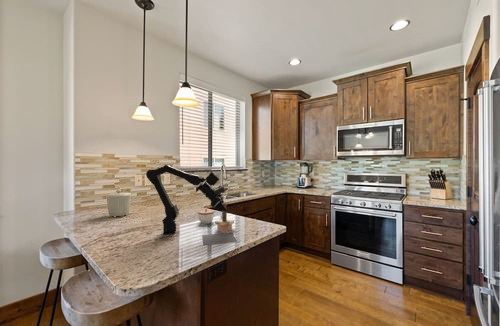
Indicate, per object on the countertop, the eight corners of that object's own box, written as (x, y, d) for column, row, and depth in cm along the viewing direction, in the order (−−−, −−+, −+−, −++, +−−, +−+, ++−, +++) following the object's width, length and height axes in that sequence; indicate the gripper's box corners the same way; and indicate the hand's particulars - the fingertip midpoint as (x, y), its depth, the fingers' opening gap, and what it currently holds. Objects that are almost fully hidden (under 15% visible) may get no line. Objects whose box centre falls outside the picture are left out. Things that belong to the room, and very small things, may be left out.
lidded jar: (210, 225, 144) (210, 210, 144) (195, 224, 146) (195, 210, 146) (216, 221, 155) (216, 207, 155) (202, 220, 157) (201, 207, 157)
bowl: (218, 232, 127) (218, 225, 127) (217, 228, 135) (216, 221, 136) (232, 231, 129) (232, 224, 129) (230, 227, 138) (230, 220, 138)
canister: (133, 216, 172) (133, 189, 172) (105, 219, 162) (105, 191, 162) (130, 212, 187) (130, 187, 187) (105, 215, 177) (105, 189, 177)
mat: (203, 246, 107) (203, 245, 107) (202, 235, 122) (202, 235, 122) (237, 242, 111) (237, 242, 111) (232, 233, 126) (232, 232, 126)
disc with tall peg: (221, 226, 124) (221, 205, 124) (211, 222, 133) (210, 202, 133) (237, 222, 132) (237, 202, 132) (227, 219, 141) (226, 200, 141)
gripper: (216, 183, 123) (236, 202, 124) (218, 180, 142) (236, 197, 142) (202, 197, 122) (222, 216, 123) (206, 193, 141) (223, 209, 142)
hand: (226, 209), depth 133 cm, fingers open, 9 cm apart
